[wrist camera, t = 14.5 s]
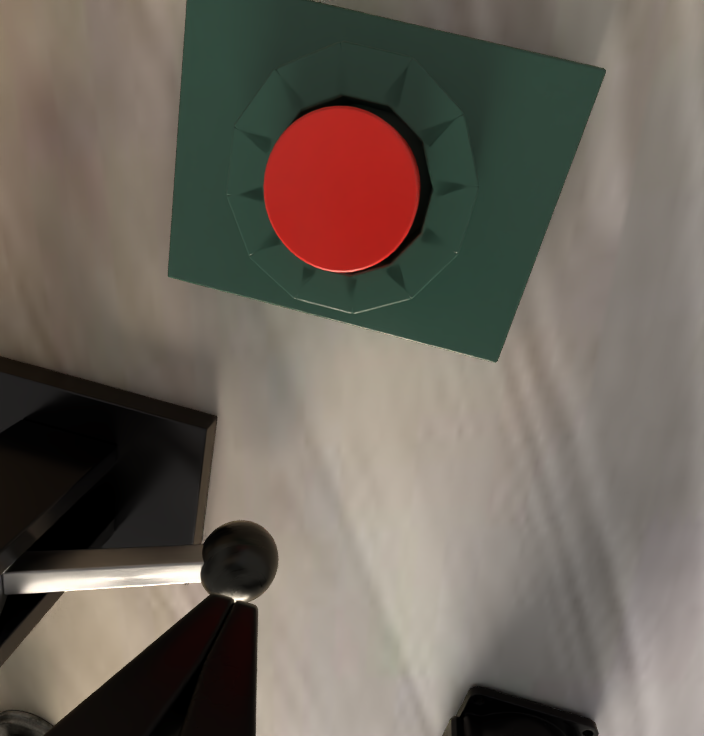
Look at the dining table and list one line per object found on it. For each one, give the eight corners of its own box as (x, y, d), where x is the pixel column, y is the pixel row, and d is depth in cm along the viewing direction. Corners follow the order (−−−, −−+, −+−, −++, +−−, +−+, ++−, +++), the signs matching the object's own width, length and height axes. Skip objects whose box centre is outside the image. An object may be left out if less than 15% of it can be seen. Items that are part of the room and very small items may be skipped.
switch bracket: (218, 415, 22) (91, 568, 14) (198, 567, 25) (89, 758, 17) (-41, 344, 22) (-311, 450, 14) (-23, 502, 26) (-229, 658, 18)
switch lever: (278, 503, 22) (289, 561, 19) (267, 557, 23) (276, 618, 20) (-76, 508, 18) (-125, 584, 15) (-65, 574, 19) (-109, 654, 16)
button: (438, 130, 13) (439, 127, 12) (399, 275, 15) (395, 289, 13) (294, 95, 14) (275, 87, 12) (271, 242, 15) (252, 252, 14)
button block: (592, 76, 15) (635, 54, 12) (492, 349, 19) (504, 388, 15) (209, -13, 16) (151, -57, 12) (185, 268, 19) (136, 290, 16)
